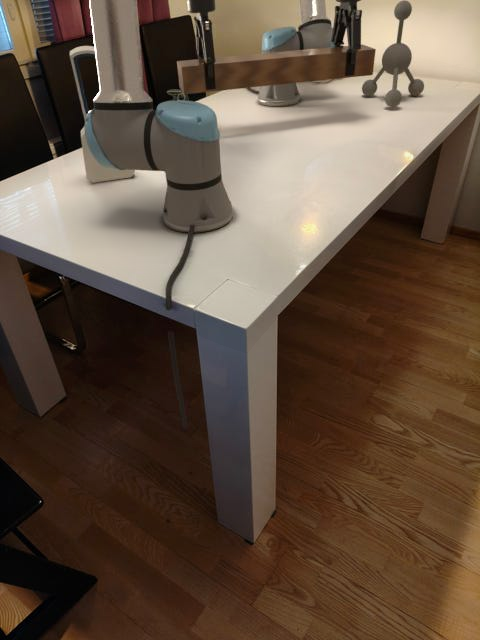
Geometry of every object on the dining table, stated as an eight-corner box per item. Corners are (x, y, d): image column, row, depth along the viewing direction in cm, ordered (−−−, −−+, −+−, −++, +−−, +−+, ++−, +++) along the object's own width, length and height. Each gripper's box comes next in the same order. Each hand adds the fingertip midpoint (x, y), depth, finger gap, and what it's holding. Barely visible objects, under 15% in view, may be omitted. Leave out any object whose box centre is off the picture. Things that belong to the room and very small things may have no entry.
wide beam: (184, 94, 140) (181, 67, 135) (179, 87, 147) (176, 61, 142) (372, 75, 150) (375, 49, 145) (360, 69, 156) (362, 44, 152)
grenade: (169, 124, 164) (164, 92, 158) (174, 119, 168) (171, 88, 162) (187, 125, 162) (184, 92, 156) (193, 120, 167) (189, 88, 161)
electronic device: (87, 183, 126) (55, 53, 107) (87, 173, 131) (56, 48, 113) (136, 176, 128) (112, 47, 110) (133, 167, 134) (110, 43, 115)
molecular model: (443, 101, 169) (463, -1, 151) (390, 111, 164) (404, 5, 145) (402, 88, 187) (415, -6, 169) (352, 96, 181) (360, 0, 163)
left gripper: (222, -4, 122) (228, 92, 136) (206, -10, 139) (213, 76, 153) (193, -2, 121) (201, 95, 135) (180, -8, 138) (189, 79, 152)
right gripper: (379, -14, 130) (370, 78, 144) (346, -19, 146) (340, 64, 160) (353, -12, 128) (346, 81, 142) (323, -17, 145) (319, 66, 159)
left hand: (207, 85), depth 144 cm, fingers closed on wide beam, 9 cm apart
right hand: (343, 72), depth 151 cm, fingers closed on wide beam, 9 cm apart
